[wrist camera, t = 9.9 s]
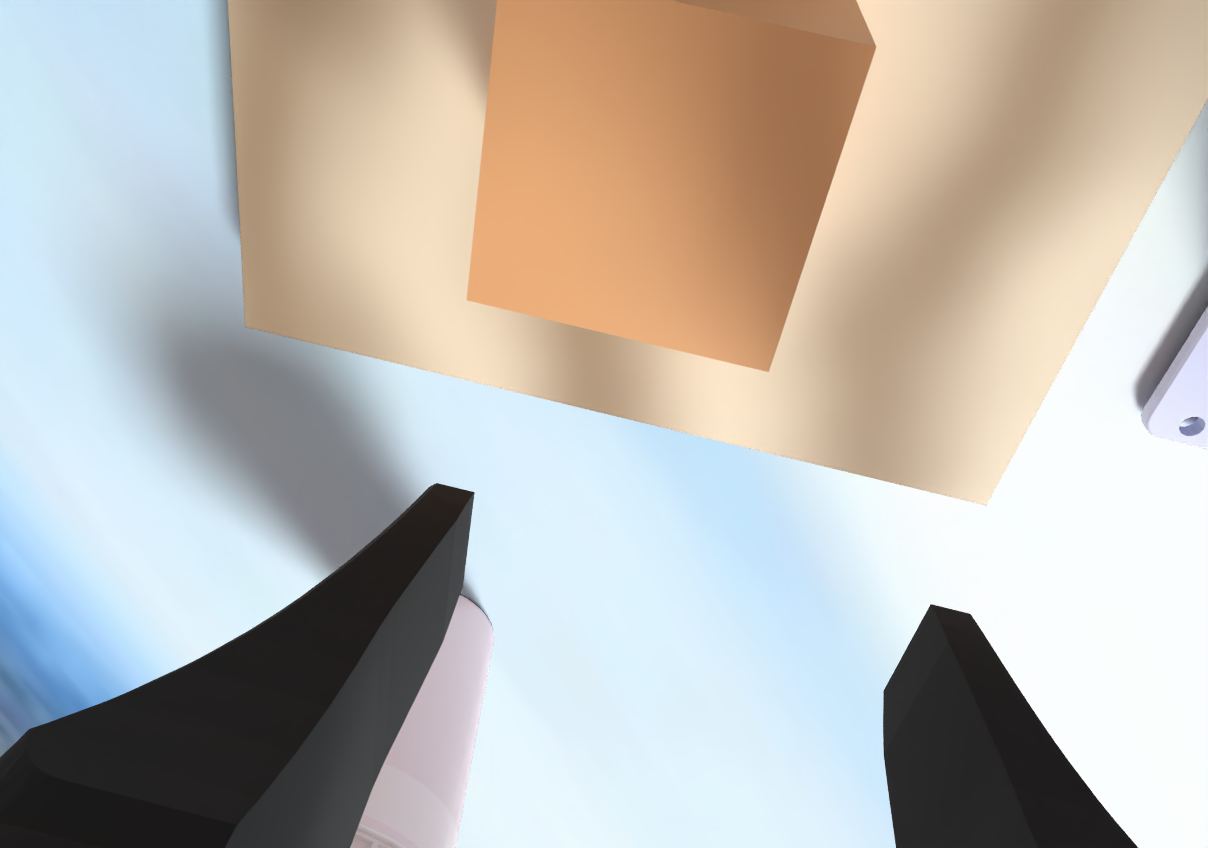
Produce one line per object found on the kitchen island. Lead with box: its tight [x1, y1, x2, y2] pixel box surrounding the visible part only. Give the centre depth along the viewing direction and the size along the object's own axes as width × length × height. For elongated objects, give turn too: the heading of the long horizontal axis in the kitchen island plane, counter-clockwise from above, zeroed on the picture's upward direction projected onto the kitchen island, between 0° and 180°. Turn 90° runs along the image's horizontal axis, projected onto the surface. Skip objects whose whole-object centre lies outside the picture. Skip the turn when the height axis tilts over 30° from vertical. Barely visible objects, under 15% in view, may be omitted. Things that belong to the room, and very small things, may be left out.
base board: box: [228, 0, 1208, 505], centre depth 18 cm, size 18×14×2 cm
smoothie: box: [350, 595, 494, 848], centre depth 24 cm, size 6×6×14 cm
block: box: [467, 0, 876, 372], centre depth 15 cm, size 5×5×5 cm
